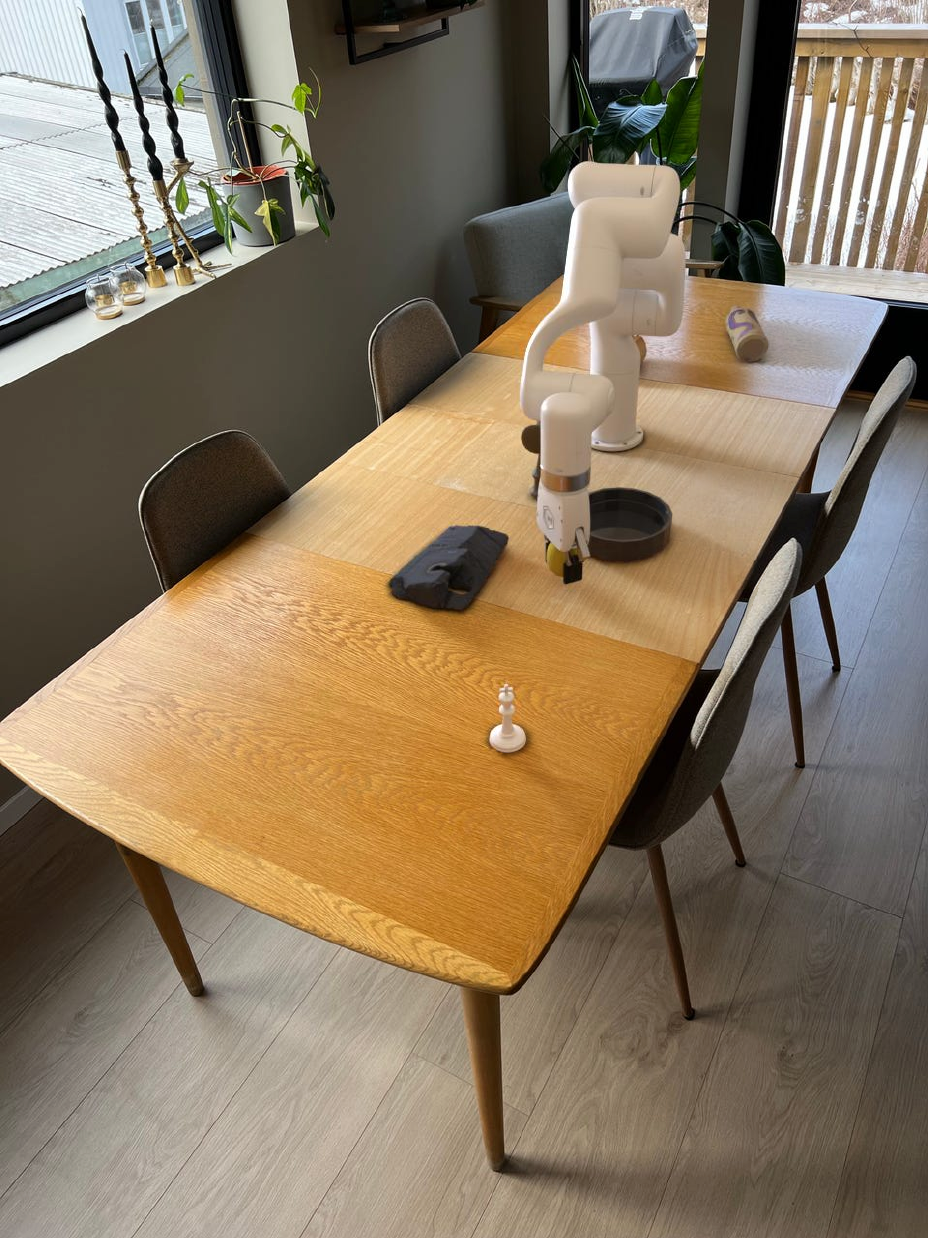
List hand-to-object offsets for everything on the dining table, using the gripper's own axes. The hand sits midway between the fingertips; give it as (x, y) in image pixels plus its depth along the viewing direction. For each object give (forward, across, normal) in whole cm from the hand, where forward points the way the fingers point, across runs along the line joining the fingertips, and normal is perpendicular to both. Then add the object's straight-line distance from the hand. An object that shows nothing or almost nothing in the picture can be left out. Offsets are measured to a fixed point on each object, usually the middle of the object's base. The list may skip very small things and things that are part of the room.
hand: (563, 570), depth 158 cm
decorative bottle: (+3, -67, +82) cm, 106 cm away
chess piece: (+2, +29, -23) cm, 37 cm away
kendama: (+3, -26, +9) cm, 28 cm away
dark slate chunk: (+3, -11, -15) cm, 19 cm away
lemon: (+2, 0, 0) cm, 2 cm away
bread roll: (+3, -67, +49) cm, 83 cm away
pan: (+2, -8, +15) cm, 17 cm away
